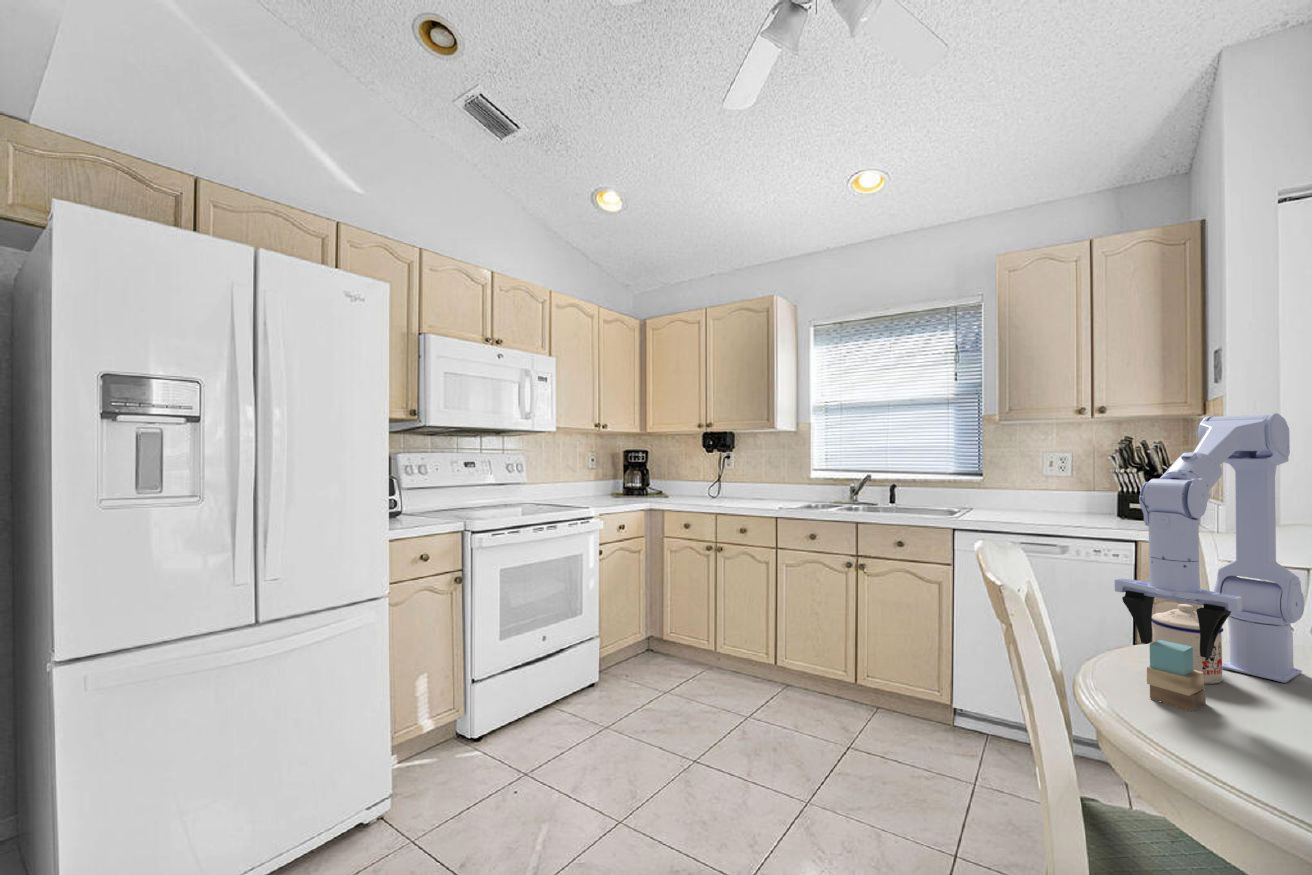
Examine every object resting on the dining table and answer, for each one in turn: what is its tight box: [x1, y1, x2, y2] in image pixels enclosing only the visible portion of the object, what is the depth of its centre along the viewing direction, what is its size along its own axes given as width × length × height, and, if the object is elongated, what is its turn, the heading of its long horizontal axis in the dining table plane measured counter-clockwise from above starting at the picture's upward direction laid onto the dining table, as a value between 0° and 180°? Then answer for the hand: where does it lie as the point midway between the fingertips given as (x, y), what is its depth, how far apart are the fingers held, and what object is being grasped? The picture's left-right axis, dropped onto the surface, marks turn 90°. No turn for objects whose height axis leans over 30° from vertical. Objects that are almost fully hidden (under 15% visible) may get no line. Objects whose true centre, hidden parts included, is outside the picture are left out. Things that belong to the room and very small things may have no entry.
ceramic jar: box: [1152, 603, 1224, 685], centre depth 100 cm, size 12×9×12 cm
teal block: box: [1149, 640, 1193, 676], centre depth 89 cm, size 4×4×4 cm
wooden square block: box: [1149, 685, 1207, 712], centre depth 88 cm, size 5×5×2 cm
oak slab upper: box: [1146, 665, 1205, 696], centre depth 89 cm, size 5×5×2 cm
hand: (1175, 649), depth 89 cm, fingers open, 6 cm apart
